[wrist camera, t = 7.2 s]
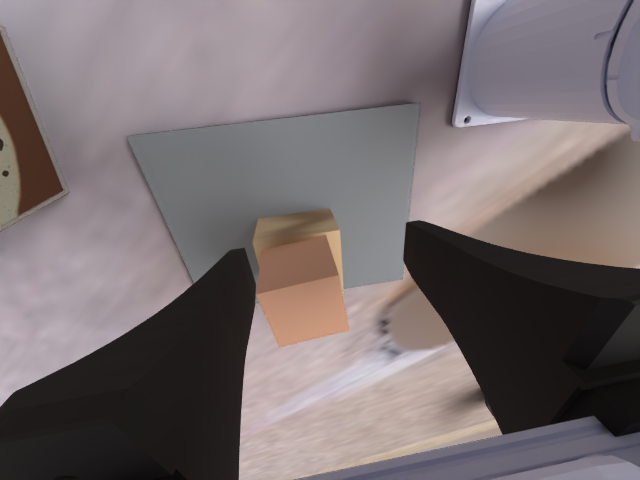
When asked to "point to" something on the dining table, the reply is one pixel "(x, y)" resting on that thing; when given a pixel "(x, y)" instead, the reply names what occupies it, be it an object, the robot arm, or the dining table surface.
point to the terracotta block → (301, 291)
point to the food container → (23, 146)
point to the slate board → (288, 184)
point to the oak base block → (299, 233)
